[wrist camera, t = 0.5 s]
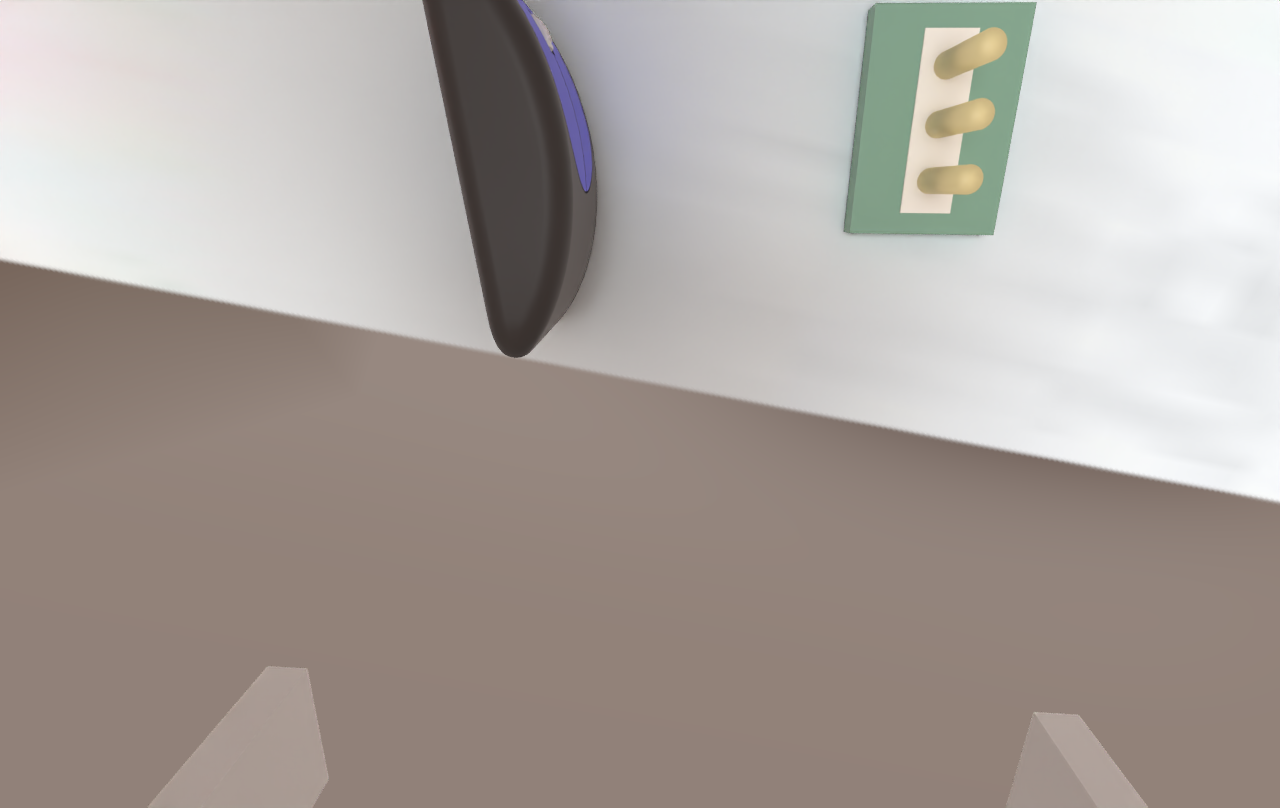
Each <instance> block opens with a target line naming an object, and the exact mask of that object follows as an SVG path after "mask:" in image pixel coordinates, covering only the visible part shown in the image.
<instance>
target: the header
mask: <svg viewBox="0 0 1280 808" xmlns="http://www.w3.org/2000/svg"><path fill="white" fill-rule="evenodd" d="M1036 3H1037V2H1008V3H876V4H875V5H874V6H873V7H872V8H870V9H869V10H868V19H867V28H866V37H865V46H864V55H863V64H862V73H861V82H860V91H859V100H858V109H857V118H856V127H855V136H854V145H853V154H852V163H851V172H850V181H849V190H848V199H847V208H846V217H845V226H844V232H847V233H878V234H950V235H993V234H994V229H995V223H996V218H997V213H998V207H999V202H1000V196H1001V191H1002V186H1003V180H1004V175H1005V170H1006V164H1007V159H1008V153H1009V148H1010V143H1011V137H1012V132H1013V127H1014V121H1015V116H1016V110H1017V105H1018V100H1019V94H1020V89H1021V84H1022V78H1023V73H1024V67H1025V62H1026V57H1027V51H1028V46H1029V41H1030V35H1031V30H1032V25H1033V19H1034V14H1035V8H1036Z"/></svg>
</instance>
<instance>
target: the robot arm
mask: <svg viewBox="0 0 1280 808" xmlns="http://www.w3.org/2000/svg"><path fill="white" fill-rule="evenodd" d="M328 780H329V777H328V772H327V767H326V761H325V756H324V751H323V747H322V741H321V736H320V731H319V726H318V721H317V715H316V710H315V706H314V700H313V695H312V690H311V685H310V680H309V675H308V669H305V668H288V667H287V668H286V667H272V666H267V667H266V668H265V670H264V671H263V672H262V673H261V675H260V676H259V677H258V678H257V679H256V680H255V681H254V683H253V684H252V685H251V686H250V687H249V688H248V690H247V691H246V692H245V693H244V694H243V695H242V697H241V698H240V699H239V700H238V701H237V703H236V704H235V705H234V706H233V707H232V708H231V710H230V711H229V712H228V713H227V714H226V715H225V717H224V718H223V719H222V720H221V721H220V722H219V724H218V725H217V726H216V727H215V728H214V730H213V731H212V732H211V733H210V734H209V735H208V737H207V738H206V739H205V740H204V741H203V742H202V744H201V745H200V746H199V747H198V748H197V750H196V751H195V752H194V753H193V754H192V755H191V756H190V758H189V759H188V760H187V761H186V762H185V763H184V765H183V766H182V767H181V768H180V769H179V771H178V772H177V773H176V774H175V775H174V777H173V778H172V779H171V780H170V781H169V783H167V785H166V786H165V787H164V788H163V789H162V790H161V792H160V793H159V794H158V795H157V796H156V797H155V799H154V800H153V801H152V802H151V804H150V805H149V806H148V807H147V808H312V807H313V805H314V803H315V802H316V800H317V798H318V797H319V795H320V793H321V792H322V790H323V788H324V787H325V785H326V783H327V781H328ZM1006 808H1148V806H1147V805H1146V804H1145V802H1144V801H1143V800H1142V798H1141V797H1140V796H1139V795H1138V793H1137V792H1136V791H1135V789H1134V788H1133V787H1132V785H1131V784H1130V783H1129V781H1128V780H1127V779H1126V778H1125V776H1124V775H1123V773H1122V772H1121V771H1120V769H1119V768H1118V767H1117V765H1116V764H1115V763H1114V761H1113V760H1112V759H1111V758H1110V756H1109V755H1108V753H1107V752H1106V751H1105V749H1104V748H1103V747H1102V745H1101V744H1100V743H1099V742H1098V740H1097V739H1096V737H1095V736H1094V735H1093V733H1092V732H1091V731H1090V729H1089V728H1088V727H1087V725H1086V724H1085V723H1084V721H1083V720H1082V719H1081V717H1080V716H1079V715H1073V714H1056V713H1039V712H1034V713H1033V716H1032V720H1031V723H1030V726H1029V730H1028V734H1027V737H1026V740H1025V743H1024V747H1023V750H1022V754H1021V757H1020V761H1019V764H1018V767H1017V771H1016V774H1015V778H1014V781H1013V785H1012V788H1011V792H1010V795H1009V799H1008V802H1007V805H1006Z"/></svg>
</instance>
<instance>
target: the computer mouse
mask: <svg viewBox="0 0 1280 808" xmlns="http://www.w3.org/2000/svg"><path fill="white" fill-rule="evenodd" d="M423 5H424V10H425V15H426V20H427V25H428V30H429V34H430V39H431V44H432V49H433V54H434V59H435V64H436V68H437V73H438V78H439V83H440V88H441V93H442V98H443V102H444V107H445V112H446V117H447V122H448V127H449V132H450V136H451V141H452V146H453V151H454V156H455V161H456V166H457V170H458V175H459V180H460V185H461V190H462V195H463V200H464V205H465V209H466V214H467V219H468V224H469V229H470V234H471V239H472V243H473V248H474V253H475V258H476V263H477V268H478V273H479V277H480V282H481V287H482V292H483V297H484V302H485V307H486V311H487V316H488V321H489V325H490V329H491V332H492V335H493V338H494V340H495V342H496V344H497V346H498V348H499V349H500V350H501V351H502V352H503V353H504V354H505V355H507V356H510V357H514V358H518V357H523V356H525V355H527V354H528V353H530V352H531V350H532V349H533V348H534V347H535V346H536V345H537V344H538V343H539V342H540V341H541V340H542V338H543V337H544V336H545V335H546V334H547V333H548V332H549V331H550V330H551V329H552V327H553V326H554V325H555V324H556V323H557V322H558V321H559V320H560V319H561V317H562V316H563V315H564V314H565V312H566V311H567V309H568V308H569V306H570V305H571V303H572V301H573V300H574V298H575V296H576V294H577V292H578V290H579V287H580V285H581V282H582V280H583V277H584V274H585V271H586V268H587V265H588V261H589V257H590V253H591V249H592V244H593V238H594V231H595V222H596V209H597V185H596V171H595V162H594V154H593V148H592V143H591V137H590V133H589V128H588V124H587V120H586V117H585V113H584V110H583V107H582V104H581V100H580V98H579V95H578V92H577V90H576V87H575V84H574V82H573V80H572V77H571V75H570V73H569V70H568V68H567V66H566V64H565V62H564V60H563V58H562V56H561V55H560V53H559V51H558V49H557V47H556V46H555V44H554V42H553V41H552V37H551V36H550V35H549V30H548V29H547V27H546V26H545V24H544V23H543V22H542V21H541V20H540V19H538V18H537V16H536V15H534V14H533V12H532V11H531V10H530V9H529V8H528V6H527V5H526V4H525V3H524V2H523V0H423Z"/></svg>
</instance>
